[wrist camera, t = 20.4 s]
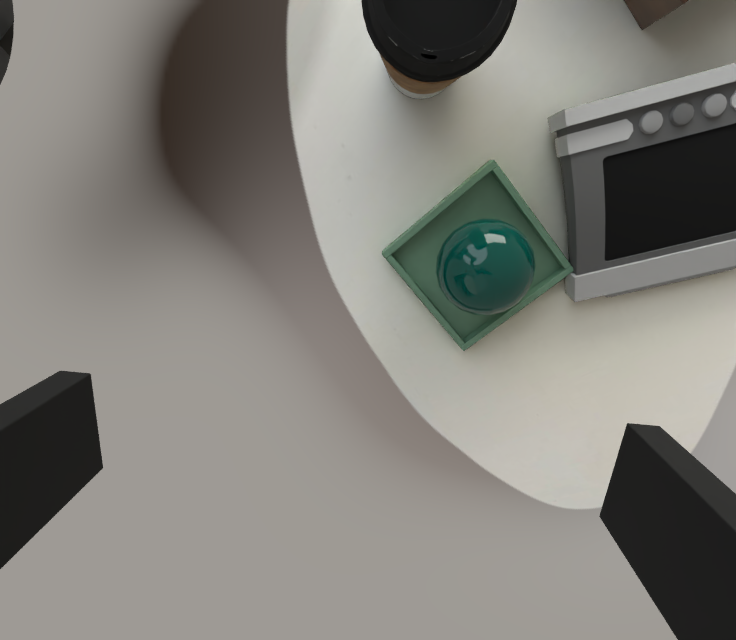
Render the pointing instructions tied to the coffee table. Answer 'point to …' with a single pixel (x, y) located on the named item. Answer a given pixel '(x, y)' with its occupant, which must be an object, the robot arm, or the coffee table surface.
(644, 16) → the box
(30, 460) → the robot arm
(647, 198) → the alarm clock
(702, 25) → the coffee table surface
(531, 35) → the coffee table surface
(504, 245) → the sphere
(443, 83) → the coffee cup
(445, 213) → the tray
